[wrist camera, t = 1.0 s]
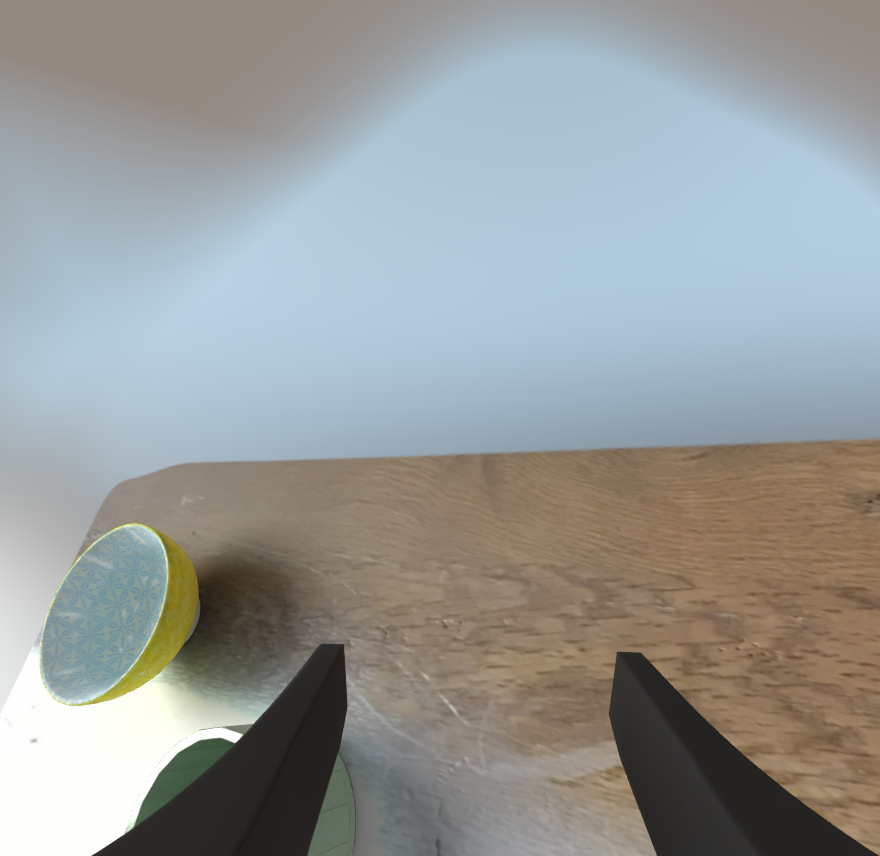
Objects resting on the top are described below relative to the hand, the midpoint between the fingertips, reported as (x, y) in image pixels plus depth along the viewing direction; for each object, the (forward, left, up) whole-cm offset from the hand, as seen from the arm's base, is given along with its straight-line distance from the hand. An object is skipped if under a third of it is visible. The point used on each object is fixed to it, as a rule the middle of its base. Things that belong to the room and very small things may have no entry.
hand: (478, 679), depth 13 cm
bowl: (+30, +1, -15) cm, 34 cm away
